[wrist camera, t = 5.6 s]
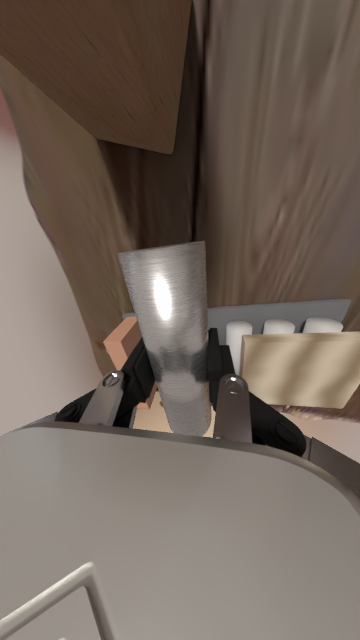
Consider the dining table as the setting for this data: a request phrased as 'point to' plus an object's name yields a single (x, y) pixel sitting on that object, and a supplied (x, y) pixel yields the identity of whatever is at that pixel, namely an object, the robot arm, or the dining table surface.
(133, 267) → the roller
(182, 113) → the dining table surface
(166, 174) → the dining table surface
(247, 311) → the roller bed
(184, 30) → the wooden block
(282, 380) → the slab
